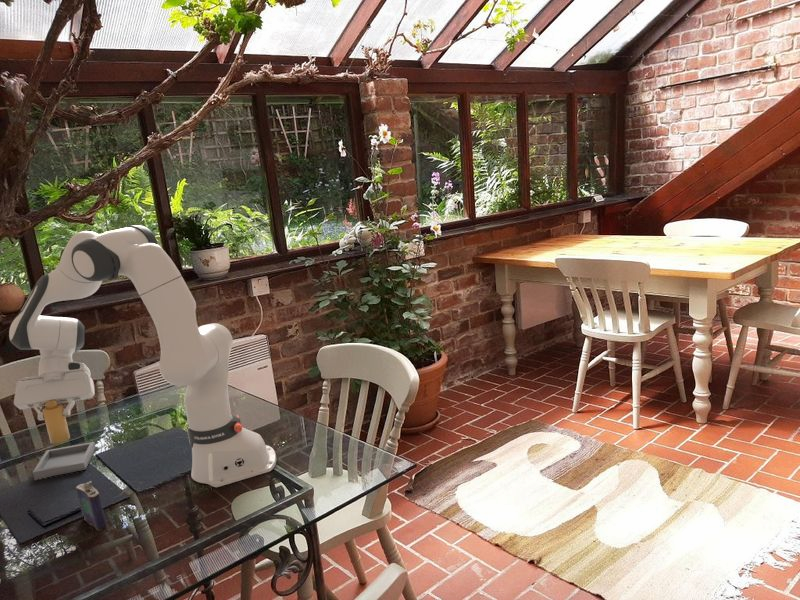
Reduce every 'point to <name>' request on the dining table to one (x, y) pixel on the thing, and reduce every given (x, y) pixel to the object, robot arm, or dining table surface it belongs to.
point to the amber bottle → (55, 422)
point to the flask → (91, 506)
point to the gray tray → (64, 460)
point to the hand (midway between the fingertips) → (54, 417)
